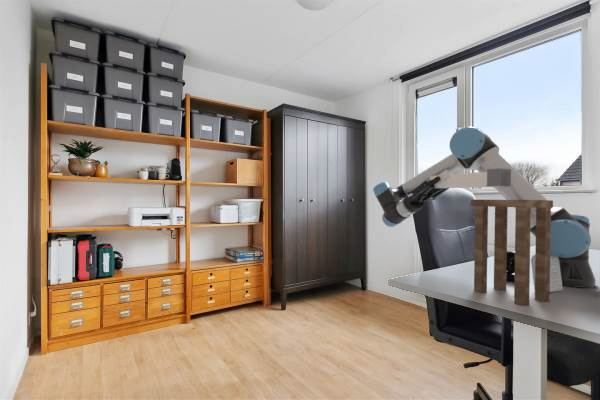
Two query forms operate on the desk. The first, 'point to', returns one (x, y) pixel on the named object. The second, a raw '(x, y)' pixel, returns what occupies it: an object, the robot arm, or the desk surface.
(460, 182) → the light grey bar
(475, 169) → the robot arm
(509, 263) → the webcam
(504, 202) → the walnut stand
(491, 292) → the desk surface
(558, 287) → the photo printer
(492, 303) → the desk surface
